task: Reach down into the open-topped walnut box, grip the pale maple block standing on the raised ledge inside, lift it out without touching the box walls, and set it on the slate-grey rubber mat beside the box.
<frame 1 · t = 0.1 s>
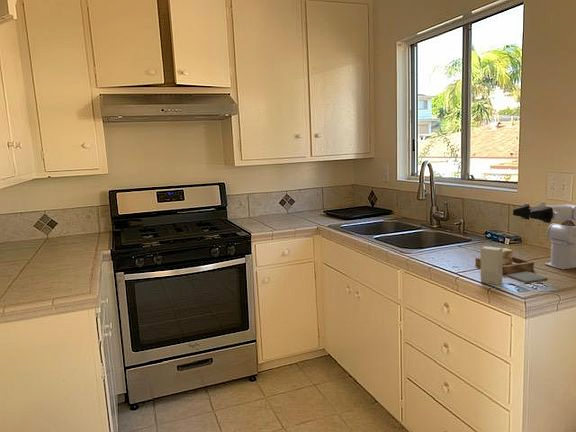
hand: (521, 213, 160), 22 cm above the countertop, tool horizontal, fingers open, 7 cm apart
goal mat: (526, 277, 157), on the countertop
maple block: (503, 262, 170), point 2 cm above the countertop, touching slot box
slot box: (503, 267, 170), on the countertop
skincare box: (490, 282, 154), on the countertop
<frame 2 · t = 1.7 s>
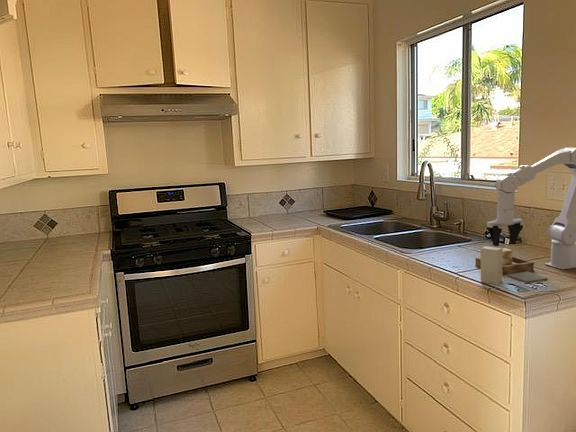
hand: (504, 244, 169), 9 cm above the countertop, tool pointing down, fingers open, 7 cm apart
nothing on the countertop moved.
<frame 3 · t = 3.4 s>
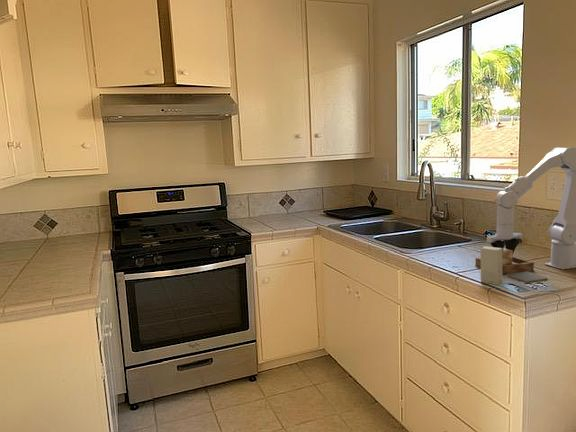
hand: (503, 259, 170), 3 cm above the countertop, tool pointing down, fingers closed on maple block, 4 cm apart
maple block: (503, 262, 170), point 2 cm above the countertop, touching gripper, slot box
everything else where it was.
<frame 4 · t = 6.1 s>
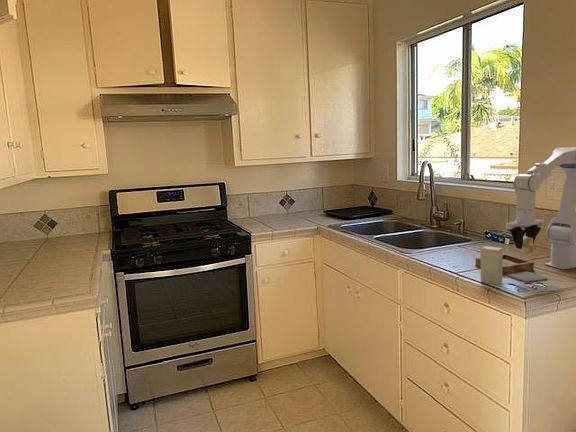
hand: (524, 247, 157), 10 cm above the countertop, tool pointing down, fingers closed on maple block, 4 cm apart
maple block: (523, 251, 158), point 9 cm above the countertop, touching gripper
everything else where it was.
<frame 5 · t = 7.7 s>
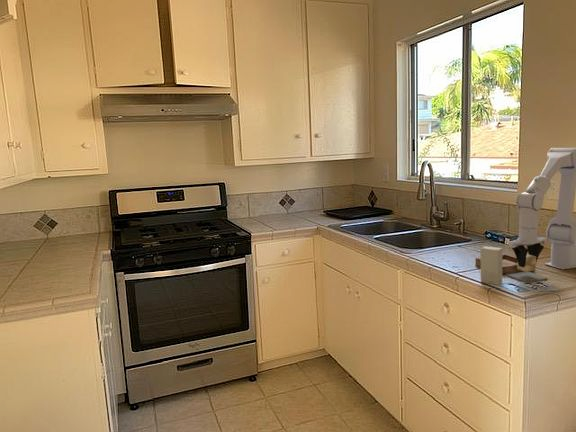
hand: (526, 265, 157), 4 cm above the countertop, tool pointing down, fingers closed on maple block, 4 cm apart
maple block: (526, 269, 157), point 3 cm above the countertop, touching gripper
everything else where it was.
when the fingers open (4 cm above the countertop, at t = 8.8 s): maple block drops 2 cm, resting on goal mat.
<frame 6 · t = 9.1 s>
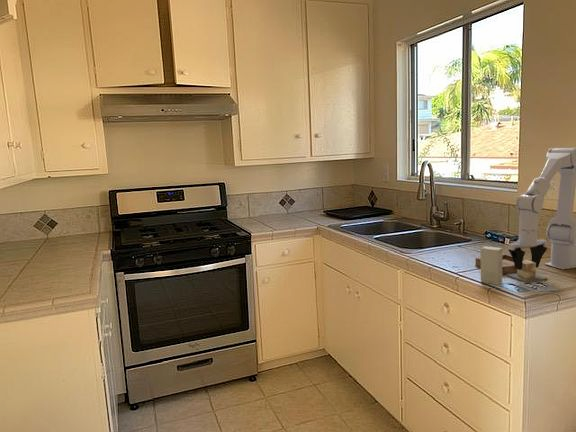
hand: (526, 267, 157), 4 cm above the countertop, tool pointing down, fingers open, 7 cm apart
maple block: (526, 276, 157), point 1 cm above the countertop, touching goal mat
everything else where it was.
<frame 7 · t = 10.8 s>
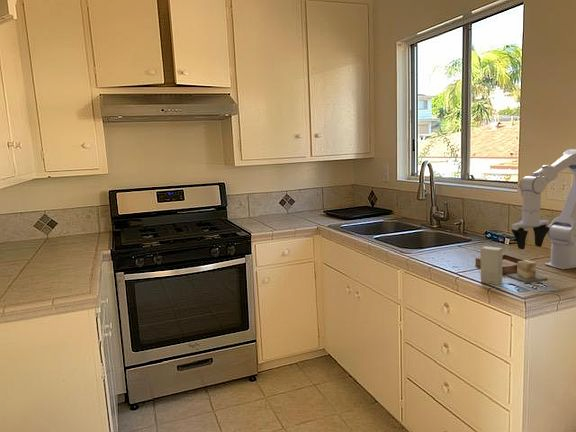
hand: (529, 247, 162), 9 cm above the countertop, tool pointing down, fingers open, 7 cm apart
nothing on the countertop moved.
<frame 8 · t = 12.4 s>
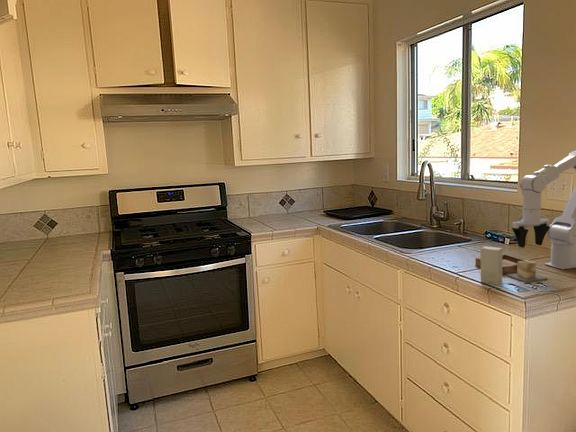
hand: (530, 245, 163), 9 cm above the countertop, tool pointing down, fingers open, 7 cm apart
nothing on the countertop moved.
at the end: maple block inside the target area on the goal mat (0.2 cm from its centre), point 0.6 cm above the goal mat's base; maple block tilted 0°; the gripper is holding nothing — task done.
